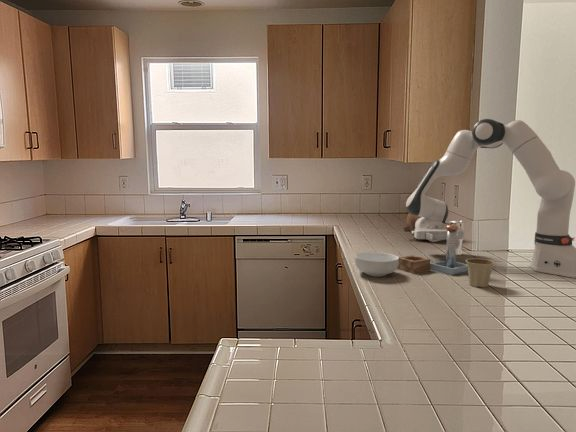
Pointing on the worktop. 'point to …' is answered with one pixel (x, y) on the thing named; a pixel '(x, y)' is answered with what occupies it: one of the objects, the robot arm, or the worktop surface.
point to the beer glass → (458, 241)
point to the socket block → (414, 264)
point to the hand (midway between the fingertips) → (445, 237)
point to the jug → (411, 223)
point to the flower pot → (479, 271)
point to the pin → (451, 245)
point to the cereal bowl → (376, 263)
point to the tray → (442, 268)
